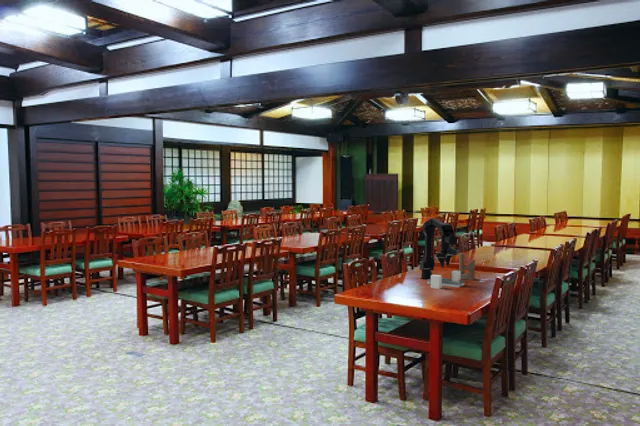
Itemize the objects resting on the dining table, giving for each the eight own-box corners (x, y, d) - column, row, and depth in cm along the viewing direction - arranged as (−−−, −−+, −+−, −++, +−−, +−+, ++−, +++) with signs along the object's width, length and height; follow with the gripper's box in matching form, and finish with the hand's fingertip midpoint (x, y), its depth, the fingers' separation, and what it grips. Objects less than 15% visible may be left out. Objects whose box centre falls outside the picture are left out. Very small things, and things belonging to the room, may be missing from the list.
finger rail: (427, 283, 353) (427, 269, 353) (433, 281, 362) (433, 267, 361) (459, 287, 341) (459, 272, 340) (464, 284, 349) (464, 270, 348)
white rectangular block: (430, 287, 340) (430, 275, 340) (433, 286, 344) (433, 274, 344) (439, 288, 337) (439, 276, 336) (442, 287, 341) (442, 275, 340)
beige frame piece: (472, 280, 365) (473, 254, 364) (458, 278, 371) (458, 253, 370) (474, 279, 368) (475, 254, 367) (460, 277, 374) (460, 252, 373)
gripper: (452, 245, 331) (452, 269, 332) (462, 242, 346) (462, 265, 347) (436, 244, 337) (435, 268, 338) (445, 241, 352) (445, 264, 353)
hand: (445, 266), depth 344 cm, fingers open, 9 cm apart
